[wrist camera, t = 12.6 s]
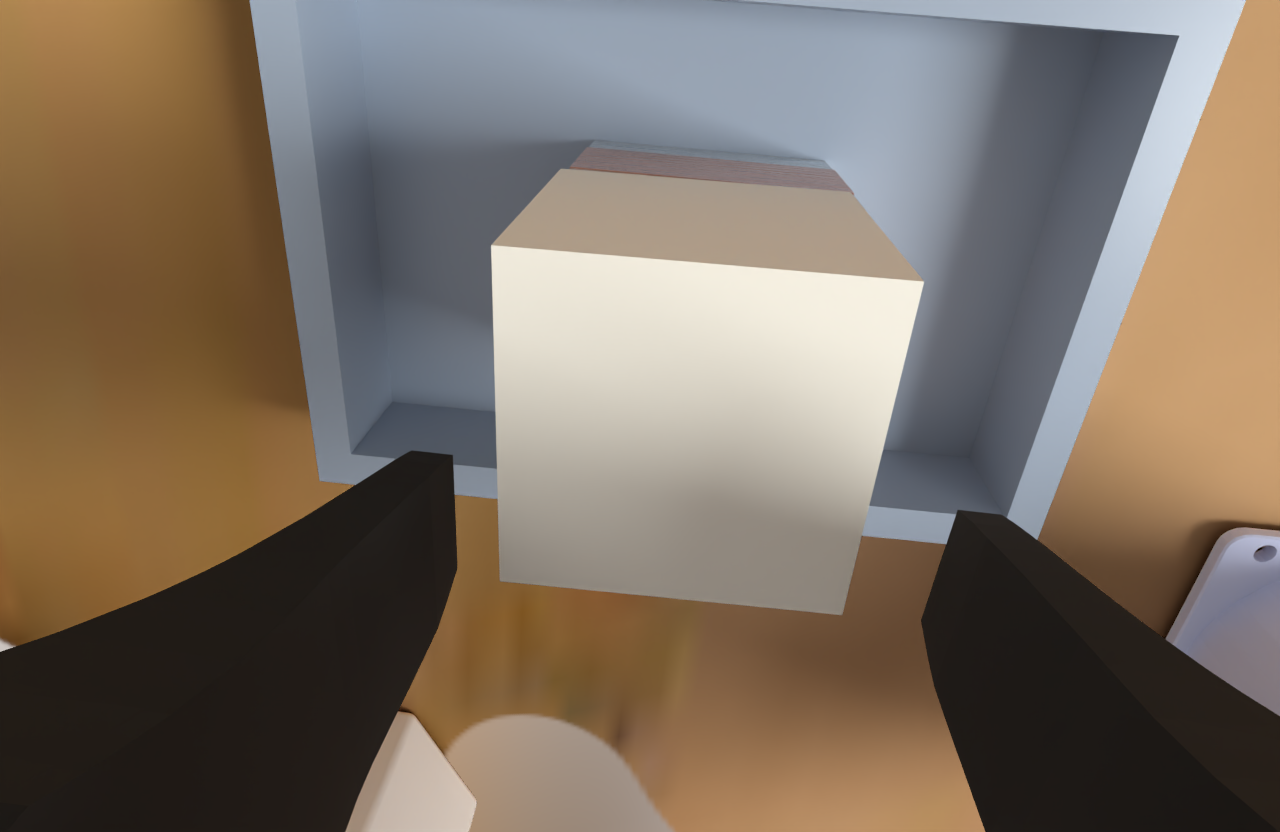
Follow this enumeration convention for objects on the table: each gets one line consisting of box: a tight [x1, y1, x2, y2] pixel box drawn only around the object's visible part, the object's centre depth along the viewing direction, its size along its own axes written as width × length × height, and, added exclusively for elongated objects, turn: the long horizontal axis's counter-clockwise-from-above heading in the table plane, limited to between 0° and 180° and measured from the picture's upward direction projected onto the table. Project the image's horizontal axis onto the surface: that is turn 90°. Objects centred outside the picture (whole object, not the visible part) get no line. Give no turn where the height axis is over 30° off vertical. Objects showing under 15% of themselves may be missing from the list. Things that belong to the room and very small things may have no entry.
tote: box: [250, 0, 1246, 544], centre depth 16 cm, size 16×11×3 cm
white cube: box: [491, 169, 924, 615], centre depth 11 cm, size 4×4×4 cm
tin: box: [570, 140, 866, 210], centre depth 15 cm, size 5×5×4 cm
